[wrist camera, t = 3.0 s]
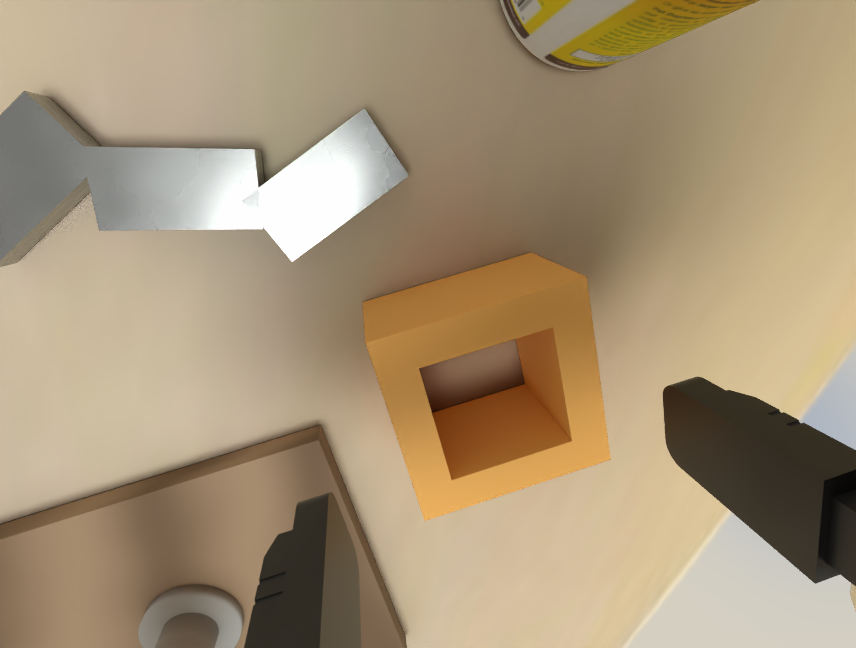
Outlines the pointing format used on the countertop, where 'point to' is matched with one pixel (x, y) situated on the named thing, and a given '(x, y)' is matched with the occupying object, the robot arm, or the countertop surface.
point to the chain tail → (181, 182)
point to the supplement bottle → (605, 27)
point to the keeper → (174, 555)
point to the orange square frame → (500, 412)
